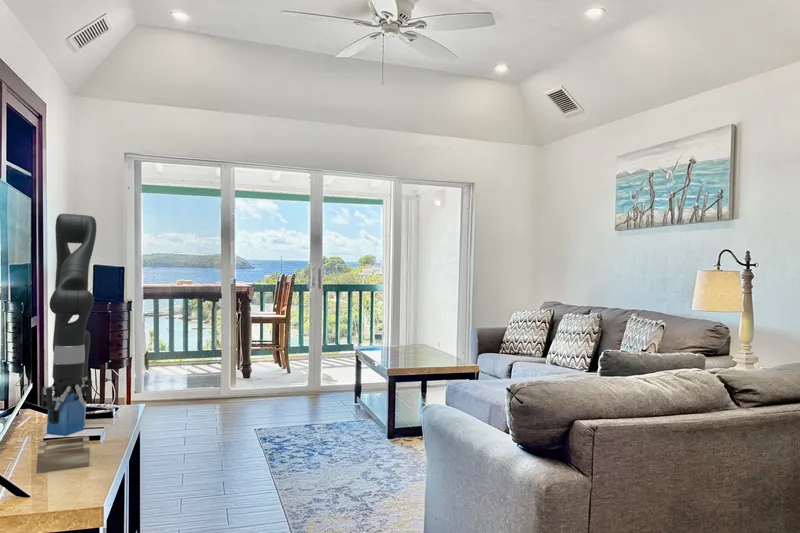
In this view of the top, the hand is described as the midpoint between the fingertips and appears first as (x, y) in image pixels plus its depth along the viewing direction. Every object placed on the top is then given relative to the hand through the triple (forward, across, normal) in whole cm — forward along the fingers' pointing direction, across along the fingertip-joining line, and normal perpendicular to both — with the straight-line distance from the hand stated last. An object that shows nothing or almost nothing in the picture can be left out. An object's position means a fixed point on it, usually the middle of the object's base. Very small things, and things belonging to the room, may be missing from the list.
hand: (65, 420), depth 147 cm
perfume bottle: (+3, 0, 0) cm, 3 cm away
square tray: (+12, 0, 0) cm, 12 cm away
